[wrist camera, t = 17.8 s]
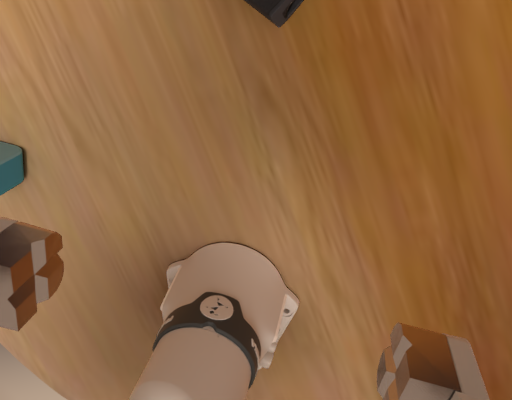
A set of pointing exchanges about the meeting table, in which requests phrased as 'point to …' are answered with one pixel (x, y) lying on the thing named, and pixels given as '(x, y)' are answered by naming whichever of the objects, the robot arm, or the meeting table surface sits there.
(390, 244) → the meeting table surface
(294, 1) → the external hard drive
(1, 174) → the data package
